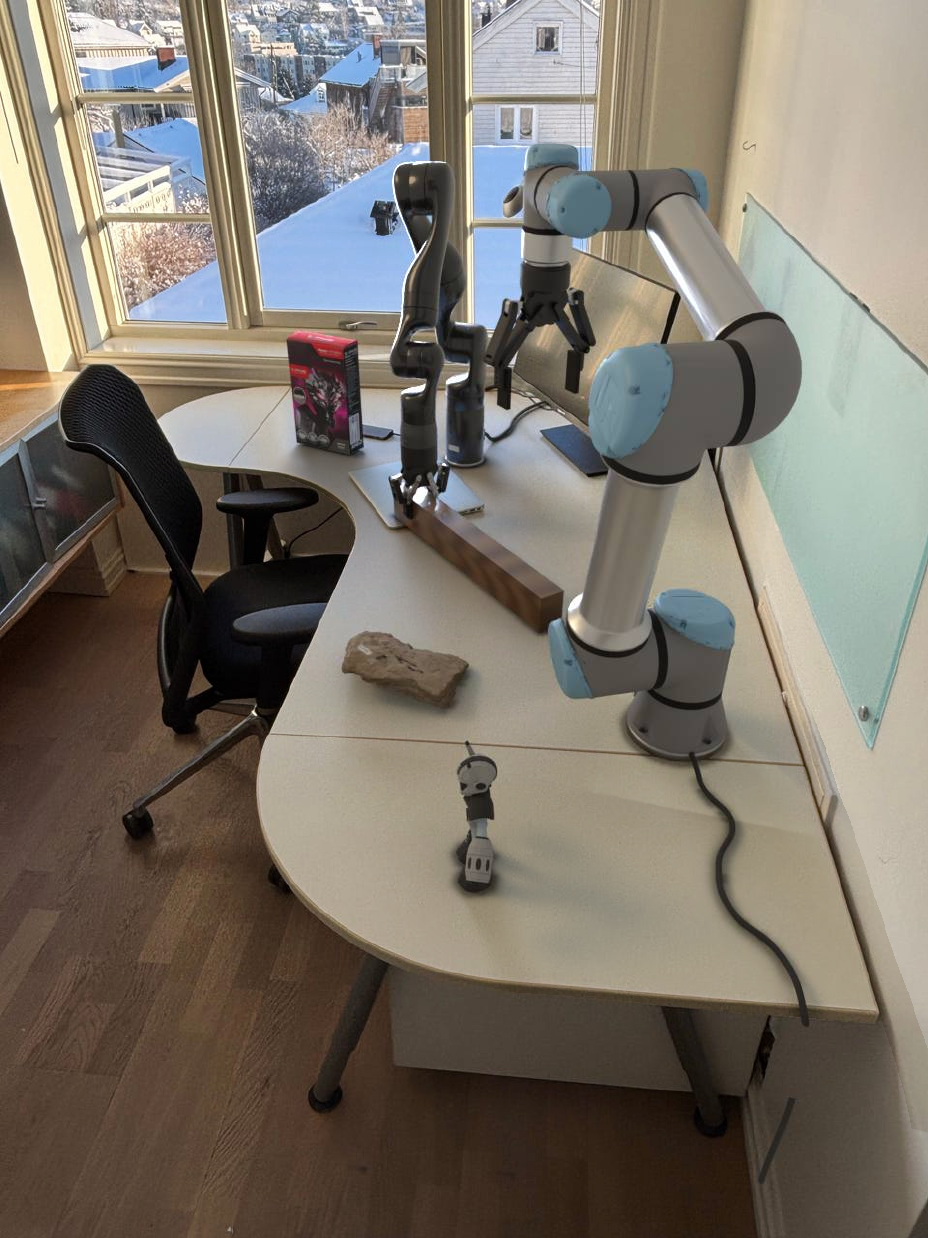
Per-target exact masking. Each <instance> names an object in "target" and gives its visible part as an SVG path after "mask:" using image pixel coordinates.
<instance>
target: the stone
mask: <svg viewBox="0 0 928 1238" xmlns="http://www.w3.org/2000/svg"><path fill="white" fill-rule="evenodd" d="M342 661H343V662H342V663H341V672H342V674H344V675H346V674H353V675H357V676H359V677H360V678H361V680H362V681H363V682H365V683H369V684H375V685H376V687H381V688H386V689H390V690H392V691H395V692H396V693H400V694H401V695H402V694H403V695H405V696H408V697H410V698H411V699H414V700H416V701H419V702H420V701H421V702H428V703H431V704H433V706H435V707H437V708H440V709H446V708H448V707H450V705H451V704H452V702H453V700H454V699H455V696H456V693H457V692H456V691H457V687H459V684H460V682H461V681H462V679H463V677H464V675H465V674H466V671H467V669H468V668H470V663H469V662H468V661H466V660H464V659H463V658H461V657H460V656H458V655H454V654H450V653H442V652H437V651H436V652H435V651H431V650H429V649H420V648H414V647H413V646H412V645H411V644H410V643H405V642H402V641H401V640H400V639H399V638H397V637H394V636H393V634H392V633H387V632H382V631H368V630H365V631H362V632H359V633H357V634H356V635H354V636H352V637H351V638H350V639H349V640H348V641H347V644H346V646H345V655H344V657H343V660H342Z"/></svg>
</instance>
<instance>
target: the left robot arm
mask: <svg viewBox="0 0 928 1238" xmlns="http://www.w3.org/2000/svg"><path fill="white" fill-rule="evenodd" d="M392 189H393V195H394V196H393V197H394V200H395V203H396V207H397V210H398V212H399V215H400V217H401V220H402V222H403V226H404V227H405V230H406V232H407V234H408V237H409V239H410V243H411V245H412V249H413V252H414V256H415V258H414V260H413V261H412V263H411V264H410V266H409V268H408V270H407V272H406V274H405V278H404V281H403V286H402V302H401V303H402V304H401V316H400V322H399V326H398V329H397V333H396V337H395V339H394V342H393V345H392V348H391V350H390V354H389V360H388V361H389V362H388V363H389V368H390V370H391V372H392V374H393V375H394V376H395V377H396V378H398V379H406V380H407V379H409V380H424V381H425V383H424V384H422V385H419V386H413V387H409V388H406V389H404V390H403V391H402V392H401V394H400V402H399V403H400V427H399V436H400V437H399V439H400V440H399V441H400V463H401V468H400V471H399V473H398V474H396V475H392V474H391V475H389V476H388V477H387V480H388V483H389V486H390V490H391V494H392V498H393V501H394V500H396V501H397V502H399V503H400V504H403V515H404V516H405V517H406V518H407V519H409V520H412V519H413V504H412V500H413V497H414V495H415V494H416V492H417V489H418V488H420V487H424V488H425V487H426V488H425V489H426V490H427V491H429V492H430V493H431V494H433V495H434V496H436V497H437V498H438V499H439V496H440V494H442V493H443V494H444V493H446V491H447V486H448V482H449V476H450V472H451V466H453V467H456V468H473V467H474V468H475V467H476V466H477V467H478V466H480V465H481V464H483V462H484V460H485V456H484V454H485V453H484V451H485V450H484V449H485V448H484V447H485V441H486V438H487V440H488V441H491V442H495V441H499V440H500V439H502V438H504V437H505V436H506V435H507V434H508V433H509V432H510V431H511V430H512V429H513V427H514V425H515V422H516V421H517V420H518V419H519V418H520V417H521V416H522V415H523V414H525V413H526V412H529V411H530V410H532V409H535V408H538V407H539V406H541V405H544V404H547V403H548V402H546V401H544V400H545V399H543V400H540V401H538V402H536V403H533V404H531V405H528V406H527V407H525V408H523V409H522V410H520V411H518V413H516V414H515V416H514V417H513V418H512V419H511V421H510V423H509V426H508V427H507V428H506V429H504V431H503V432H501V433H500V434H498V435H496V436H494V437H492V436H491V435H490V434H489V433H488V432H487V431H486V429H485V410H486V409H485V405H486V403H485V401H486V381H487V365H488V364H486V363H484V362H483V357H484V355H485V352H486V350H487V347H488V345H489V332H488V330H487V328H486V326H484V325H482V324H479V323H471V322H462V321H461V322H460V321H456V320H455V319H454V316H453V313H454V311H455V309H456V308H457V306H458V305H459V303H460V301H461V300H462V299H463V296H464V295H465V292H466V289H467V285H468V281H467V280H468V278H467V274H466V270H465V266H464V265H465V264H464V261H463V257H462V255H461V253H460V251H459V249H458V248H457V247H456V246H455V244H453V242H451V240H450V239H449V236H450V230H451V224H452V219H453V214H454V208H455V200H456V179H455V174H454V170H453V168H452V166H451V165H450V164H449V163H448V162H445V161H410V162H403V163H401V164H398V165H397V166H396V168H395V170H394V172H393V176H392ZM429 217H432V220H430V219H429ZM431 221H432V222H431ZM433 329H434V333H435V338H436V342H433V341H415V340H412V338H413V337H414V336H415V335H416V334H417V333H419V332H423V331H429V330H433ZM445 363H449V364H454V365H462V366H468V370H467V372H464V373H459V374H456V375H452V376H451V377H449V378H448V379H447V380H446V382H445V462H443V461H441V462H440V463H438V457H439V456H438V454H439V453H438V451H439V450H438V426H437V394H438V389H439V383H440V380H441V377H442V373H443V371H444V366H445ZM449 465H450V466H449ZM436 474H437V476H436ZM435 476H436V481H435ZM403 480H404V482H402V481H403ZM402 483H404V486H403V494H402V490H401V487H400V486H401V485H402ZM410 486H411V488H410Z"/></svg>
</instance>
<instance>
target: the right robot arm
mask: <svg viewBox="0 0 928 1238" xmlns="http://www.w3.org/2000/svg"><path fill="white" fill-rule="evenodd" d="M524 157H525V158H524V166H523V167H524V168H523V170H522V176H523V191H522V192H523V193H522V222H521V224H522V225H521V244H520V245H521V247H520V257H521V259H522V261H521V263H520V267H519V287H520V291H521V294H520V297H519V299H510V298H507V297H506V298H504V299H503V300H502V301H501V302H502V303H501V310H500V311H501V312H500V316H499V318H498V320H497V323H496V325H495V328H494V330H493V332H492V335H491V338H490V340H489V342H488V347H487V350H486V352H485V355H484V357H483V362H484V363H486V364H487V365H488V366H490V367H492V368H493V386H494V388H496V391H497V392H496V406H498V407H500V408H502V409H504V410H505V411H509V410H511V409H512V408H511V406H512V383H513V382H512V379H513V368H511V367H510V364H511V362H512V361H513V359H514V358H515V356H516V355H517V354H518V352H519V349H520V348H521V347H522V345H523V344H524V342H525V341H526V340H527V337H528V336H529V335H530V333H532V332H533V331H534V330H535V329H536V328H543V327H544V326H546V325H548V326H553V325H556V326H557V328H558V329H559V331H560V332H561V334H562V335H563V336H564V338H565V340H566V341H567V342H568V344H569V345H570V347H571V349H567V351H566V352H567V353H566V365H565V366H566V367H565V379H564V390H566V391H568V392H569V393H571V394H574V395H577V394H579V392H580V383H581V382H580V381H581V380H580V379H581V372H582V371H583V370H584V363H585V355H588V354H589V353H590V351H591V347H592V348H594V347H595V346H596V345H597V340H596V336H595V333H594V330H593V327H592V324H591V321H590V319H589V316H588V315H589V314H588V312H587V309H586V306H585V292H584V290H581V289H579V288H576V287H573V286H571V287H570V285H571V273H572V272H571V271H572V264H570V261H571V260H572V259H573V245H574V239H579V240H585V239H588V238H592V237H593V236H596V235H598V233H603V232H605V233H606V232H607V233H608V232H629V231H630V232H631V231H634V232H635V231H644V233H645V235H646V237H647V238H648V240H649V242H650V243H651V245H652V247H653V249H654V251H655V252H656V255H657V256H658V258H659V260H660V262H661V264H662V265H663V267H664V269H665V271H666V273H667V274H668V276H669V278H670V280H671V282H672V283H673V285H674V287H675V290H676V291H677V292H678V294H679V296H680V298H681V300H682V302H683V304H684V305H685V307H686V309H687V311H688V312H689V314H690V316H691V319H692V321H693V322H694V323H695V326H696V327H697V329H698V331H699V333H700V335H701V336H702V338H703V341H689V342H687V341H685V342H673V343H671V342H670V343H659V342H645V343H642V344H639V345H634V346H624V347H620V348H618V349H616V350H614V351H612V352H611V353H609V354H608V355H607V356H606V357H605V358H604V359H603V360H602V361H601V363H600V365H599V366H598V369H597V371H596V373H595V376H594V378H593V379H592V380H593V381H592V383H591V388H590V392H589V398H588V406H587V408H588V410H589V416H588V417H587V421H588V422H587V423H588V431H589V436H590V440H591V442H592V444H593V447H594V448H595V450H596V451H597V452H598V453H599V455H600V459H601V460H602V462H603V464H604V465H605V467H607V469H608V471H607V474H606V475H607V476H606V480H605V485H604V489H603V495H602V500H601V504H600V509H599V514H598V518H597V523H596V529H595V533H594V538H593V543H592V548H591V553H590V558H589V561H588V567H587V571H586V577H585V581H584V587H583V591H582V593H580V594H578V596H576V597H574V599H572V601H571V602H570V604H569V606H568V608H567V613H566V618H562V619H561V618H559V619H557V620H554V621H552V622H551V623H550V624H549V627H548V630H547V640H548V641H547V643H548V649H549V654H550V660H551V664H552V668H553V671H554V675H555V678H556V681H557V683H558V686H559V688H560V690H561V691H562V693H563V694H564V696H566V697H567V698H569V699H571V700H583V699H584V700H585V699H591V700H594V699H597V698H604V697H611V696H617V695H623V694H629V693H630V694H631V693H633V699H632V701H631V702H630V704H629V706H628V708H627V711H626V719H625V728H626V732H627V734H628V736H629V738H630V739H631V741H632V742H634V744H636V745H637V746H638V747H639V748H640V749H641V750H643V751H645V752H646V753H648V754H650V755H651V756H654V757H656V758H659V759H662V760H666V761H670V762H675V763H691V764H692V767H693V771H694V775H695V778H696V782H697V785H698V787H699V789H700V790H701V792H702V793H703V795H704V796H705V797H706V799H708V800H709V801H710V802H711V803H712V804H713V805H714V806H715V807H717V808H718V809H719V810H720V811H721V812H722V813H723V814H724V815H725V817H726V819H727V822H728V828H729V829H728V833H727V836H726V837H725V839H724V841H723V843H722V844H721V846H720V847H719V849H718V852H717V854H716V858H715V866H714V867H715V871H714V872H715V882H716V889H717V892H718V895H719V897H720V900H721V902H722V903H723V905H724V907H725V909H726V911H727V912H728V913H729V915H730V916H731V917H732V918H733V919H734V921H735V922H736V923H737V924H739V925H740V926H741V927H742V928H743V929H745V930H746V931H747V932H748V933H750V934H752V935H753V936H755V937H756V938H757V939H758V940H759V941H761V942H762V943H764V945H766V946H767V947H768V948H769V949H770V950H771V951H772V952H773V953H774V954H775V956H776V957H777V958H778V959H779V961H780V963H781V964H782V966H783V967H784V969H785V970H786V972H787V974H788V975H789V978H790V980H791V982H792V984H793V988H794V991H795V994H796V999H797V1004H798V1008H799V1013H800V1014H799V1015H800V1020H801V1025H803V1027H805V1028H809V1027H810V1017H809V1011H808V1006H807V1000H806V997H805V993H804V989H803V986H802V983H801V980H800V979H799V977H798V974H797V972H796V971H795V969H794V967H793V966H792V963H791V962H790V961H789V959H788V958H787V956H786V955H785V954H784V952H783V950H781V948H780V946H778V945H777V944H776V943H775V942H774V941H773V940H772V939H771V938H770V937H768V936H767V935H766V934H764V933H763V932H762V931H760V930H759V929H758V928H757V927H755V926H753V925H752V924H751V923H750V922H748V921H747V920H746V919H744V918H743V917H742V916H741V915H740V914H739V912H737V911H736V909H735V908H734V907H733V905H732V902H730V900H729V897H728V895H727V893H726V890H725V885H724V880H723V860H724V856H725V854H726V851H727V849H728V848H729V846H730V845H731V843H732V841H733V839H734V837H735V835H736V821H735V819H734V816H733V815H732V812H731V811H730V810H729V809H728V807H726V806H725V805H724V804H723V803H722V802H721V801H720V800H719V799H718V798H717V797H715V796H714V794H712V792H710V791H709V789H708V788H707V786H706V785H705V783H704V780H703V777H702V773H701V770H700V765H699V763H698V762H700V761H703V760H706V759H709V758H711V757H714V755H716V754H718V752H720V751H721V750H722V748H723V747H724V744H725V743H726V740H727V739H726V738H727V734H728V721H727V716H726V712H725V708H724V707H725V706H724V701H723V692H724V686H725V682H726V678H727V672H728V668H729V664H730V659H731V654H732V651H733V650H732V649H733V648H734V646H735V637H736V636H735V635H736V618H735V616H734V614H733V612H732V611H731V609H730V608H729V607H728V606H727V605H726V604H725V603H723V602H722V601H721V600H719V599H717V598H715V596H712V595H709V594H707V593H704V592H701V591H699V590H698V591H697V590H694V589H689V588H670V589H667V590H666V589H665V590H664V591H662V592H661V593H660V594H658V595H657V597H656V599H654V602H653V607H652V608H647V605H648V601H649V598H650V595H651V591H652V587H653V584H654V581H655V580H654V579H655V576H656V572H657V569H658V566H659V562H660V560H661V555H662V552H663V548H664V545H665V541H666V538H667V534H668V531H669V527H670V523H671V521H672V516H673V513H674V510H675V506H676V502H677V498H678V496H679V492H680V489H681V485H682V484H684V483H687V482H688V481H691V479H693V478H694V477H695V476H696V475H697V473H698V471H699V469H700V467H701V463H702V461H703V457H704V453H705V451H707V450H708V449H718V448H719V449H720V448H729V447H739V446H745V445H749V444H753V443H756V442H758V441H760V440H761V439H764V438H765V437H766V436H768V435H770V433H772V432H773V431H775V430H776V429H777V428H778V427H779V426H780V425H781V424H782V423H783V422H784V421H785V420H786V418H787V417H788V416H789V414H790V412H791V411H792V409H793V407H794V406H795V403H796V401H797V399H798V395H799V392H800V389H801V385H802V378H803V376H802V375H803V361H802V355H801V351H800V347H799V345H798V342H797V339H796V337H795V335H794V333H793V332H792V330H791V329H790V327H789V326H788V324H787V323H786V321H785V319H784V318H783V317H782V316H781V315H780V314H779V313H777V312H776V311H772V310H767V309H766V307H765V306H764V303H762V301H761V300H760V298H759V296H758V295H757V293H756V291H755V290H754V289H753V287H752V285H751V284H750V282H749V280H748V279H747V278H746V276H745V274H744V273H743V271H742V270H741V268H740V266H739V265H738V263H737V261H736V260H735V258H734V257H733V255H732V254H731V252H730V250H728V249H729V248H728V247H727V246H726V244H725V243H724V241H723V240H722V238H721V236H720V235H719V233H718V232H717V230H716V228H715V227H714V225H713V224H712V222H711V221H710V219H709V218H708V216H707V212H708V208H709V202H710V201H709V200H710V192H709V191H710V190H709V188H708V186H707V185H708V181H707V177H706V176H705V175H704V173H703V172H702V171H701V170H698V169H696V168H695V169H694V168H681V167H676V166H675V167H669V168H654V169H653V168H651V169H615V170H613V169H610V170H580V164H579V163H580V162H579V150H578V148H577V147H576V146H575V145H572V144H567V143H556V142H555V143H552V142H550V143H549V142H548V143H547V142H545V143H544V142H543V143H536V144H535V143H534V144H532V145H530V146H529V147H528V148H527V149H526V152H525V156H524ZM567 304H568V307H569V310H570V313H571V316H572V319H573V322H574V325H575V327H574V325H573V324H572V322H571V319H570V317H569V316H568V314H567V312H566V311H565V308H566V306H567ZM795 1103H796V1098H794V1097H791V1096H788V1098H787V1101H786V1105H785V1107H784V1111H783V1113H782V1116H781V1119H780V1122H779V1124H778V1127H777V1129H776V1132H775V1133H774V1137H773V1139H772V1141H771V1144H770V1146H769V1149H768V1151H767V1154H766V1156H765V1159H764V1161H763V1164H762V1166H761V1170H760V1172H759V1175H758V1178H757V1182H758V1183H759V1184H760V1185H763V1184H765V1182H766V1180H767V1179H766V1178H767V1176H768V1173H769V1170H770V1168H771V1165H772V1162H773V1160H774V1158H775V1155H776V1153H777V1151H778V1148H779V1145H780V1143H781V1142H782V1139H783V1137H784V1134H785V1131H786V1129H787V1126H788V1124H789V1121H790V1119H791V1116H792V1113H793V1110H794V1106H795Z"/></svg>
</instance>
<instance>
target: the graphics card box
mask: <svg viewBox="0 0 928 1238" xmlns="http://www.w3.org/2000/svg"><path fill="white" fill-rule="evenodd" d="M285 341H286V348H287V349H286V350H287V359H288V369H289V378H290V389H291V398H292V408H293V420H294V428H295V441H296V444H300V445H304V446H309V447H314V448H317V449H321V450H326V451H330V452H334V453H340V454H343V455H348V456H351V455H353V454H354V453H356V452H358V451H359V450H361V449H363V448H364V445H365V443H364V428H363V427H364V426H363V424H364V423H363V411H362V409H363V408H362V396H361V377H360V361H359V341H358V339H350V338H343V337H339V336H333V335H330V334H329V335H328V334H324V333H318V332H313V331H312V332H311V331H306V330H298V331H295V332H293V333H292V334H290V335H289V336H288V337H286V340H285Z"/></svg>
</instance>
